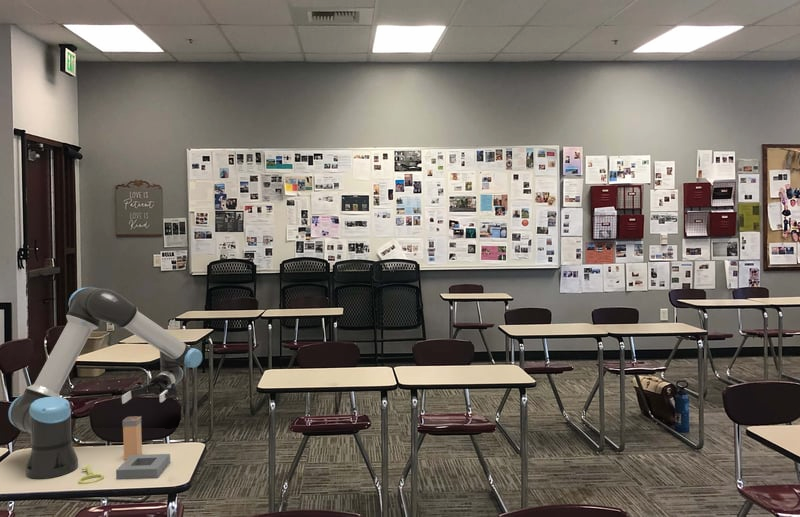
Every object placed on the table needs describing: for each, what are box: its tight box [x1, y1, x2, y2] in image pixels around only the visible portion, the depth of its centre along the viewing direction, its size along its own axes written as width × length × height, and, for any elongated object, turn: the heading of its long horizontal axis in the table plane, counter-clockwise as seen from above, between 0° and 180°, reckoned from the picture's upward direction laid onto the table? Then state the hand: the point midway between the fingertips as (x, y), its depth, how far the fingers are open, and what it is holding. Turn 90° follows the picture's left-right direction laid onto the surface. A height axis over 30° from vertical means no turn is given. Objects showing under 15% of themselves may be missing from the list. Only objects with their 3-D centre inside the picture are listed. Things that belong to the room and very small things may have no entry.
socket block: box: [115, 453, 171, 480], centre depth 203 cm, size 13×13×3 cm
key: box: [77, 464, 105, 485], centre depth 198 cm, size 7×12×2 cm, turn 50°
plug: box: [122, 415, 143, 461], centre depth 214 cm, size 5×5×14 cm
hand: (141, 399), depth 223 cm, fingers open, 13 cm apart
